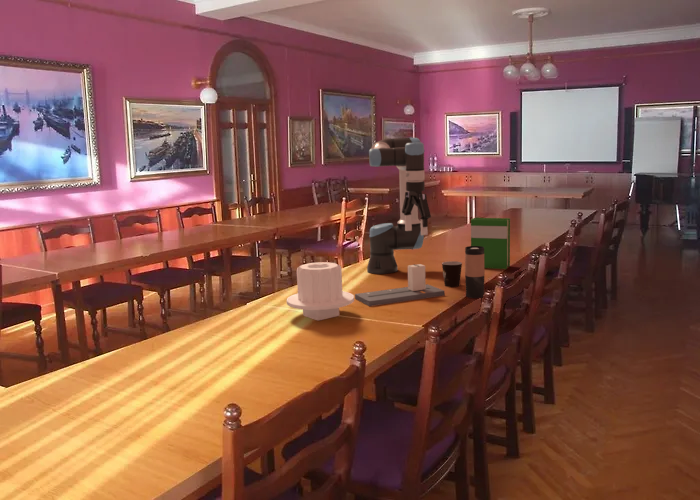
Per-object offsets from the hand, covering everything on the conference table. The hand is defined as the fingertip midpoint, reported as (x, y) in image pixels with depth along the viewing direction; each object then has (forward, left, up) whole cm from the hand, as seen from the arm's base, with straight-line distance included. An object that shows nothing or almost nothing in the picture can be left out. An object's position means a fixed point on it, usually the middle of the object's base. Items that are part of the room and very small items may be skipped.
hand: (416, 232), depth 256 cm
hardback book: (-30, +58, -26) cm, 70 cm away
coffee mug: (-6, +21, -26) cm, 34 cm away
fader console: (+2, -9, -26) cm, 27 cm away
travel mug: (+16, +18, -26) cm, 35 cm away
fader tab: (+2, -1, -23) cm, 23 cm away
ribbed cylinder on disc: (+12, -47, -26) cm, 55 cm away
